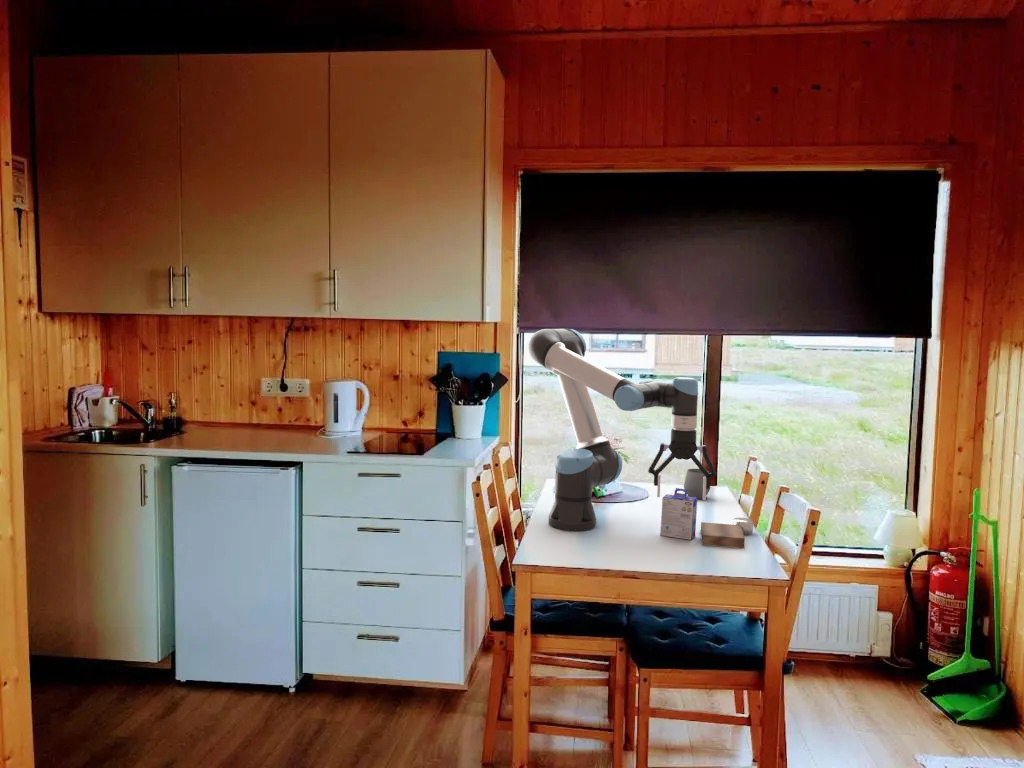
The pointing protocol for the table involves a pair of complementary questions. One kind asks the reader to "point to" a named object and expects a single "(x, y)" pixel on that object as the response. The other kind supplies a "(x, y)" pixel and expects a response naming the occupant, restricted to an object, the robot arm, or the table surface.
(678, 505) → the ink cartridge box
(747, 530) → the silver metal knob
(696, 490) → the cup
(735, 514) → the table surface
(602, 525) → the table surface
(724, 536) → the podium
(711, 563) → the table surface
